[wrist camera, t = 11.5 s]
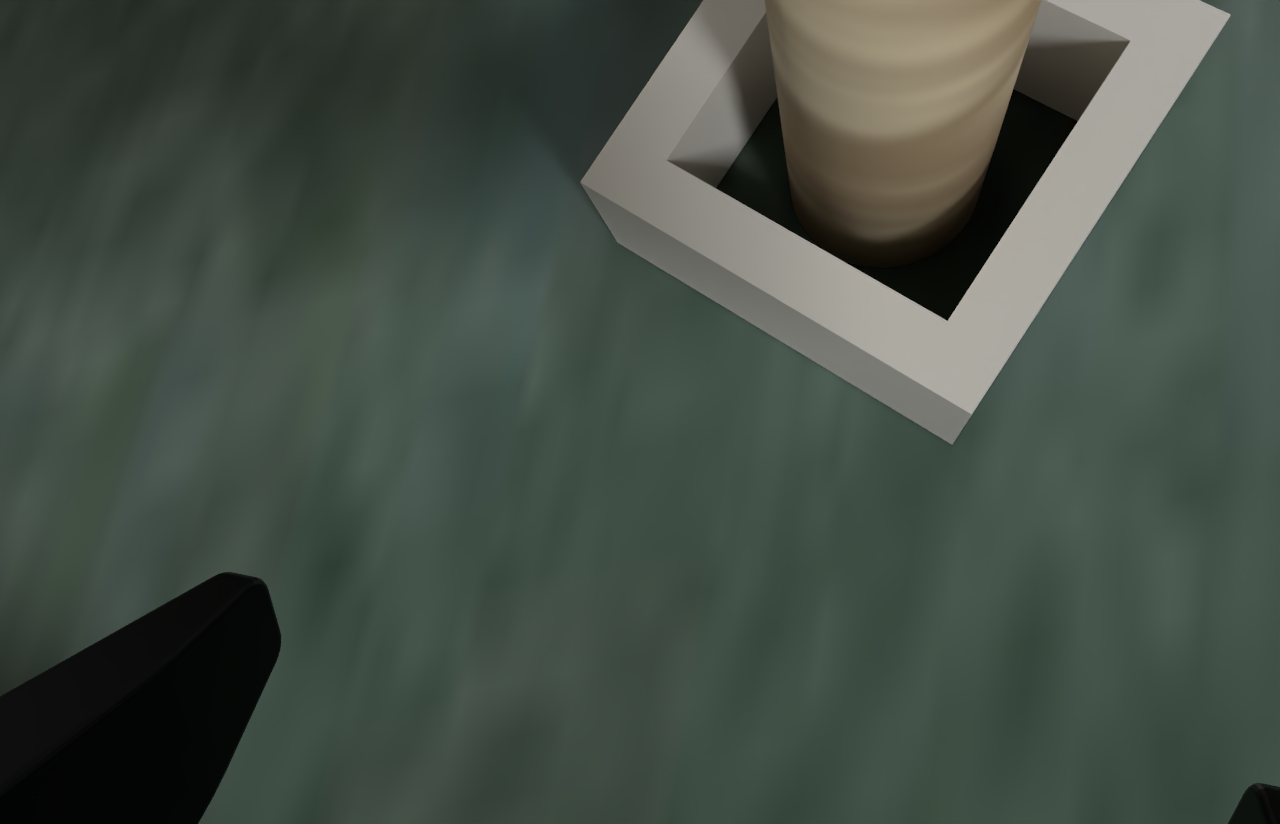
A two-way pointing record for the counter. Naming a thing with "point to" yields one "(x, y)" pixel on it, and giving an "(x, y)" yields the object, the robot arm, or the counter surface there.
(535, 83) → the counter surface
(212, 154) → the counter surface
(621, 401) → the counter surface
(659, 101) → the socket
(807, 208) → the peg
